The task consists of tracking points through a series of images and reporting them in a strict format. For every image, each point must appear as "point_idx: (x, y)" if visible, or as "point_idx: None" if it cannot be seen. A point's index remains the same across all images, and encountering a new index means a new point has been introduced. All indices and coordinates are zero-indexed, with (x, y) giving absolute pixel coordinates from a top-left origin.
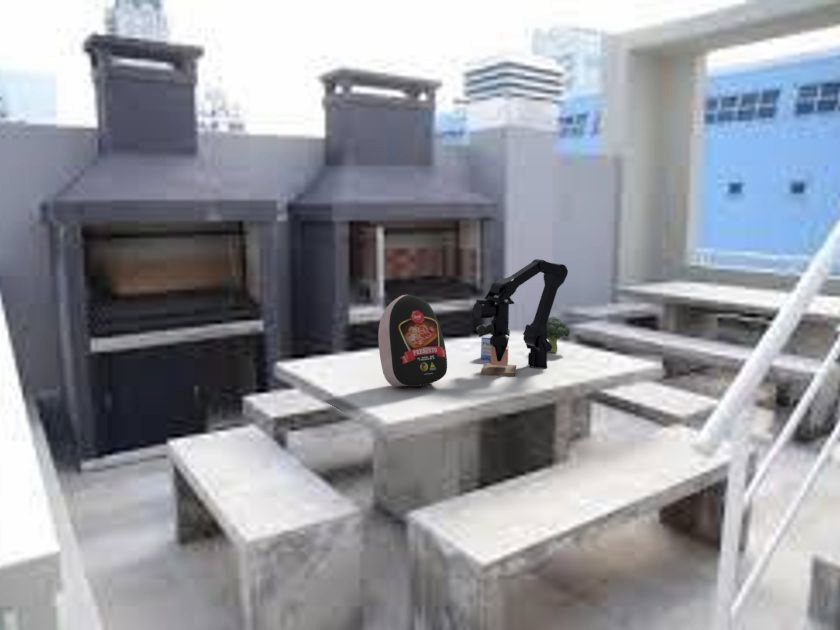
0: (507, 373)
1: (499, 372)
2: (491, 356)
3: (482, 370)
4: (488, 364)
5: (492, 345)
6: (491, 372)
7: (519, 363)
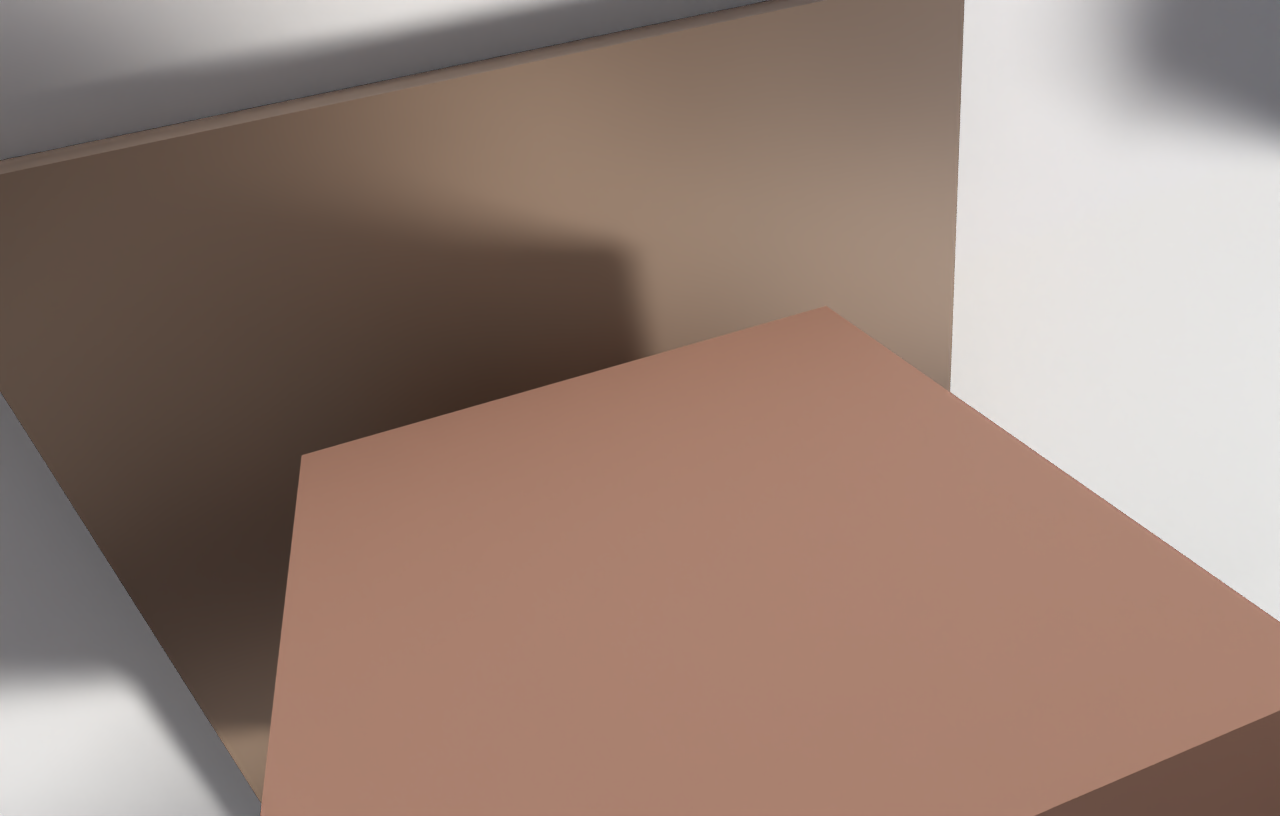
0: (257, 774)
1: (173, 658)
2: (286, 699)
3: (45, 196)
4: (883, 138)
5: (1274, 734)
6: (74, 486)
7: (1207, 534)
